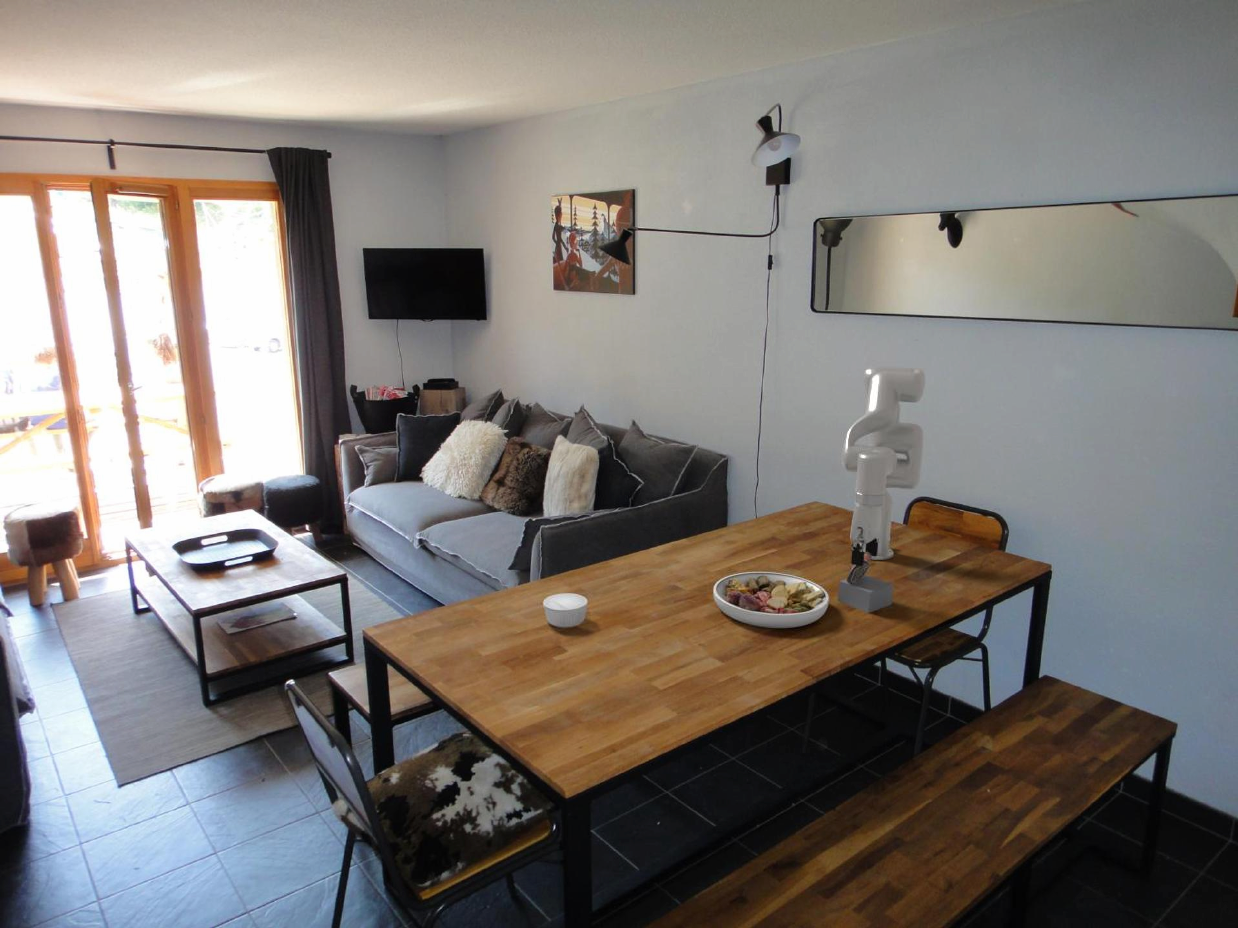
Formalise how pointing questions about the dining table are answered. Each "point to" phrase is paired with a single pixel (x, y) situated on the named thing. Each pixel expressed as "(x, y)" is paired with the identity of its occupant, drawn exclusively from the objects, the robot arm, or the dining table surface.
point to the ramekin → (565, 609)
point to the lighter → (859, 570)
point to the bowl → (770, 599)
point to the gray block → (866, 594)
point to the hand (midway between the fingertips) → (864, 560)
